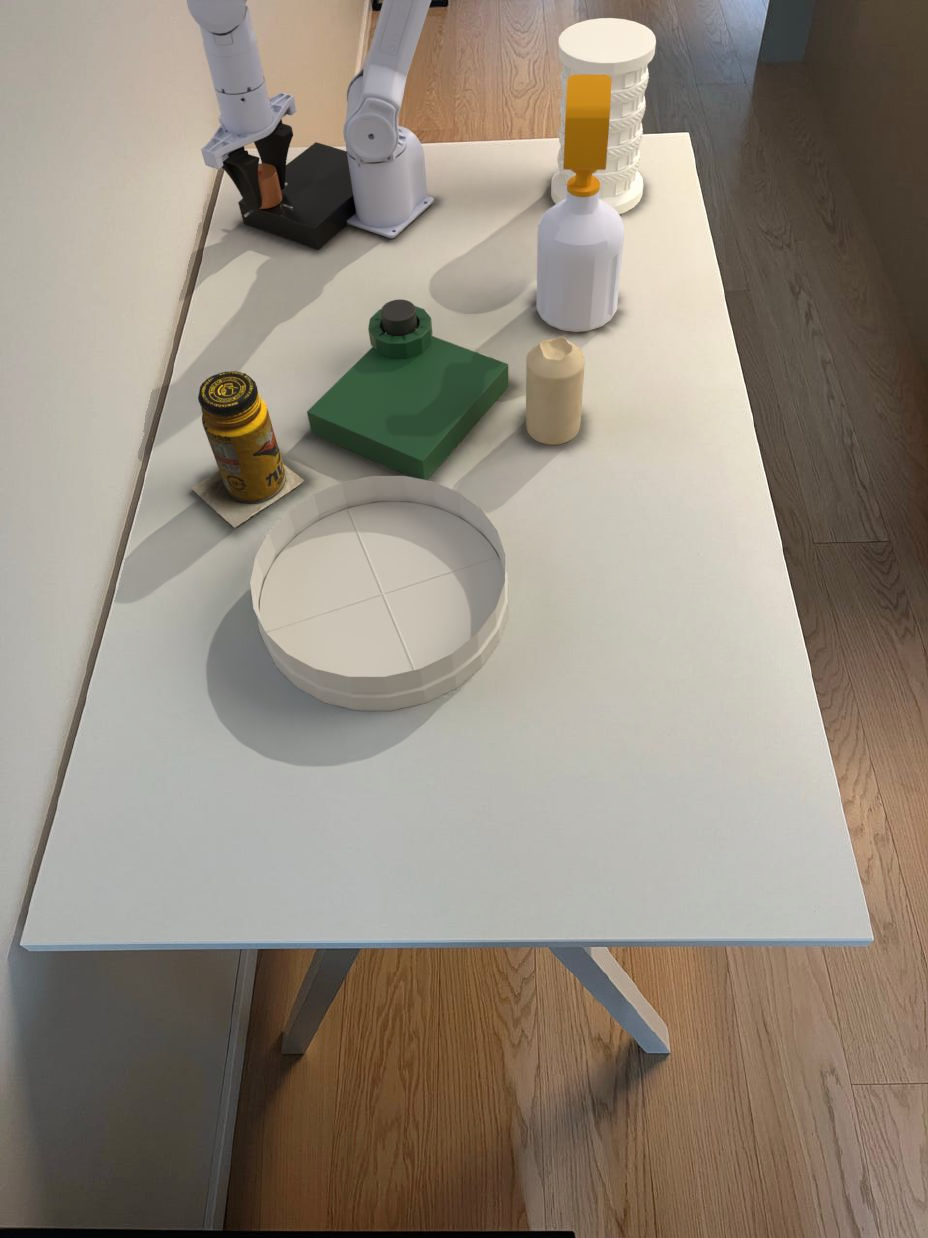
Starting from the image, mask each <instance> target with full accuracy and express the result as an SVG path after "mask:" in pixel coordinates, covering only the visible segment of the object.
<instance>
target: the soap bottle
mask: <svg viewBox="0 0 928 1238" xmlns="http://www.w3.org/2000/svg"><path fill="white" fill-rule="evenodd" d="M610 102H611V78H610V76H608V75H572V76H570V77H569V78H568V79H567V96H566V114H565V139H564V165H563V170H572V171H573V172H574V173H576V176H573V177H571V178H570V179H569V180H568V182H567V199H565V200H562V201H560V202H559V203H557V204H556V203H555V204H554V205H552V206H551V207H550V208H548V209H547V210H546V211H545V213H544V214H543V215H542V216H541V219H540V221H539V224H538V225H537V226H538V228H537V246H536V249H537V250H536V251H537V252H536V253H537V254H536V311H537V312H538V314H539V317H540V318H541V320H542V321H544V322H545V323H546V324H548V325H549V326H550V327H553V328H555V329H558V330H560V331H566V332H573V333H580V332H589V331H592V330H595V329H596V330H597V329H598V328H599V329H600V328H601V327H604V325H606V324H607V323H609V322H610V321H611V320H612V319H613V317H614V315H615V314H616V313H617V310H618V302H619V293H620V281H621V272H622V263H623V262H622V261H623V253H624V252H623V250H624V241H625V225H624V222H623V217H621V214H619V213H618V212H617V210H615V209H614V208H612V207H611V206H610V205H608V204H607V203H605V202H604V201H602V200H599V191H600V182H599V180H598V179H597V178H596V177H594V176H592V174H593V173H595V172H596V171H597V170H606V160H607V147H608V134H609V120H610Z"/></svg>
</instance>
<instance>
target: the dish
mask: <svg viewBox="0 0 928 1238" xmlns="http://www.w3.org/2000/svg"><path fill="white" fill-rule="evenodd" d="M250 576H251V577H250V582H249V584H250V585H249V586H250V593H251V599H252V608H253V611H254V613H255V616H256V618H257V625H258V631H259V632H260V635H261V638H262V640H263V643H264V645H265V647H266V649H267V651H268V652H269V655H270V657H271V659H272V661H273V664H274V665H275V667H276V668H277V669H278V671H279V672H281V673H282V674H283V676H285V677H286V678H287V680H289V681H290V683H292V684H293V685H294V686H295V687H296V688H297V689H299V690H300V691H302V692H304V693H306V694H308V695H309V696H311V697H313V698H315V699H317V700H319V701H320V702H323V703H325V704H329V705H333V706H337V707H341V708H345V709H349V710H352V711H353V710H354V711H375V712H376V711H377V712H378V711H379V712H380V711H383V712H385V711H387V712H390V711H392V712H393V711H395V710H400V709H405V708H410V707H413V706H414V707H415V706H418V705H423V704H426V703H427V704H428V702H431V701H433V700H435V699H437V698H439V697H441V696H444V694H448V693H450V692H452V691H453V690H456V689H457V688H459V687H460V686H461V685H462V684H464V683H465V682H466V681H467V680H468V679H470V678H471V677H472V676H473V675H474V674H476V673H477V672H478V671H479V670H480V669H482V668H483V666H484V665H485V663H486V662H487V661H488V659H489V657H490V656H491V655H492V654H493V652H494V651H495V649H496V648H497V646H498V645H499V644H500V642H501V639H502V635H503V632H504V629H505V627H506V624H507V620H508V617H509V574H508V572H507V568H506V553H505V549H504V546H503V543H502V540H501V537H500V534H499V531H498V529H497V528H496V527H495V525H494V524H493V523H492V521H491V520H490V519H489V517H488V516H487V514H486V513H485V512H484V511H483V509H482V508H481V507H479V506H478V505H476V504H475V503H473V502H472V501H471V500H470V499H468V498H467V497H466V496H465V495H463V494H462V493H460V492H459V491H456V490H454V489H452V488H450V487H447V486H445V485H442V484H440V483H438V482H435V481H433V480H429V479H428V480H423V479H418V478H413V477H410V476H408V475H372V476H371V475H370V476H366V477H361V478H356V479H352V480H346V481H342V482H339V483H336V484H334V485H332V486H330V487H327V488H325V489H322V490H321V491H318V492H314V493H313V494H311V495H310V496H308V497H307V498H305V499H303V501H301V502H299V503H298V504H297V505H295V506H294V507H292V508H291V509H289V510H287V512H286V513H285V514H284V515H283V516H282V517H281V518H280V519H279V520H278V521H277V522H276V524H274V526H273V527H272V528H270V530H269V531H268V532H267V534H266V536H265V537H264V540H263V542H262V543H261V545H260V547H259V549H258V551H257V553H256V555H255V556H254V562H253V566H252V572H251V575H250Z"/></svg>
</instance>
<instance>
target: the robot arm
mask: <svg viewBox="0 0 928 1238" xmlns="http://www.w3.org/2000/svg"><path fill="white" fill-rule="evenodd" d="M247 1H248V0H186V3H187V4H186V5H187V8H188V11H189V13H190V16H191V17H192V18H193V20H194V21H195V22H196V23H197V24H198V25H199V30H200V33H201V37H202V45H203V49H204V53H205V57H206V61H207V65H208V69H209V72H210V75H211V81H212V85H213V89H214V92H215V96H216V101H217V104H218V107H219V112H220V114H219V116H218V122H219V124H220V125H219V127H218V128H217V130H216V131H215V133H214V134H213V135H212V137H211V138H210V140H209V141H208V142H207V143H206V144H205V145H204V146H203V147H202V148H201V149H200V151H201V155H202V159H203V163H204V165H205V166H207V167H209V168H211V169H215V170H219V169H221V168H222V169H223V170H224V172H225V173H226V174H227V176H229V178H230V180H231V181H232V182H233V184H234V186H235V187H236V189H237V191H238V192H239V194H240V196H241V199H243V200H244V202H245V204H246V205H247V206H250V207H253V208H256V209H259V208H260V207H262V198H261V193H260V187H259V181H258V165H259V164H260V162H261V163H266V164H271V165H273V166H274V167H275V168H276V170H277V174H278V179H279V184H280V188H281V190H283V189H284V188H285V174H286V165H287V160H288V153H289V149H290V145H291V143H292V139H293V137H294V130H293V127H292V126H291V125H289V124H285V123H283V118H285V117H286V116H287V115H288V116H293V115H294V114H295V113H297V106H296V101H295V97H294V95H292V94H289V93H285V92H281V91H280V92H279V93H277V94H275V95H274V96H272V97H269V93H268V89H267V84H266V83H267V82H266V78H265V74H264V70H263V65H262V59H261V56H260V50H259V45H258V40H257V38H256V37H257V36H256V33H255V30H254V28H253V23H252V18H251V13H250V10H249V6H248V5H246V3H247ZM431 3H432V0H383V1H382V4H381V8H380V12H379V16H378V18H377V22H376V26H375V29H374V33H373V36H372V38H371V39H372V40H371V43H370V47H369V49H368V51H367V53H366V54H365V56H364V60H363V64H362V66H361V67H360V69H359V71H358V72H357V74H355V75H354V76H353V78H351V80H350V82H349V84H348V86H347V90H346V102H347V103H346V115H345V121H344V124H343V130H342V134H343V140H344V143H345V151H347V157H348V164H349V170H350V177H351V184H352V190H353V197H354V203H355V210H356V213H355V214H354V215H353V216H352V217H351V218H350V219H348V220H347V224H348V225H349V226H352V227H356V228H359V229H362V230H365V231H367V232H371V233H373V234H376V235H379V236H383V237H386V238H389V239H395V238H396V237H397V236H398V235H399V234H400V233H401V232H402V231H403V230H404V229H406V228H407V227H408V226H409V225H410V224H411V223H412V222H413V221H414V220H416V219H417V218H418V217H419V216H420V215H421V214H422V213H423V212H424V211H426V209H428V208H430V206H431V205H432V204H433V203H434V202H435V201H434V197H433V196H429V195H428V183H427V171H426V160H425V159H426V158H425V151H424V147H423V144H422V143H421V141H420V140H419V139H420V138H418V137H417V135H416V134H415V133H414V132H413V131H411V130H410V129H409V128H406V127H404V126H401V125H399V116H400V115H399V114H400V111H401V108H402V104H403V99H404V94H405V88H406V84H407V83H406V82H407V78H408V74H409V71H410V67H411V65H412V62H413V59H414V55H415V53H416V50H417V46H418V43H419V40H420V38H421V34H422V32H423V28H424V25H425V22H426V18H427V16H428V13H429V9H430V5H431ZM252 143H253V144H254V146H255V148H256V150H257V153H258V156H259V157H258V156H255V155H254V154H249V151H248V150H247V149H245V146H248V145H249V144H252Z"/></svg>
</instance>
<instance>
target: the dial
mask: <svg viewBox="0 0 928 1238" xmlns="http://www.w3.org/2000/svg"><path fill="white" fill-rule="evenodd" d="M258 181H259V187H260V193H261V198H262V207H260V209H267V208H272V207H274V206H276V205H278V204H279V203H280V202H281V201H282V193H281V188H280V184H279V179H278V174H277V170H276V168H275V167H274V166H273V165H271V164H266V163H262V162H261V163H260V162H259V165H258Z"/></svg>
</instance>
